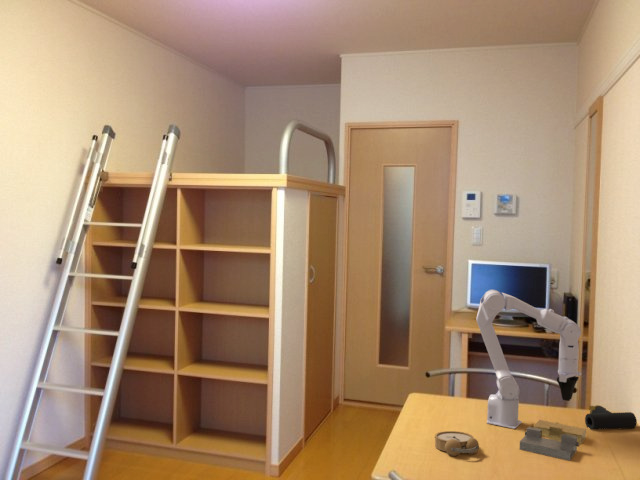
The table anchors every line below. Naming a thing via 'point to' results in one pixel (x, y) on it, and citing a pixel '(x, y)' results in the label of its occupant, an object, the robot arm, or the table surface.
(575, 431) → the tan flat block
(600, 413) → the pipe connector
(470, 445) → the alarm clock
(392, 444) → the table surface
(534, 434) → the fixed leaf
